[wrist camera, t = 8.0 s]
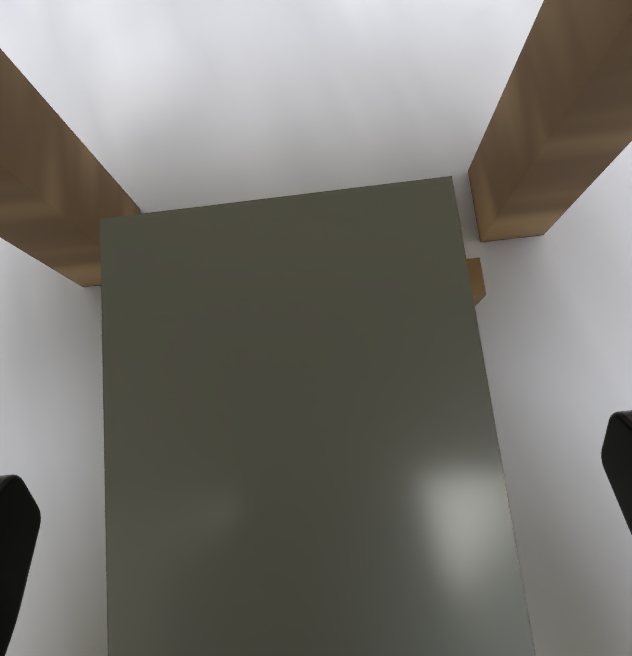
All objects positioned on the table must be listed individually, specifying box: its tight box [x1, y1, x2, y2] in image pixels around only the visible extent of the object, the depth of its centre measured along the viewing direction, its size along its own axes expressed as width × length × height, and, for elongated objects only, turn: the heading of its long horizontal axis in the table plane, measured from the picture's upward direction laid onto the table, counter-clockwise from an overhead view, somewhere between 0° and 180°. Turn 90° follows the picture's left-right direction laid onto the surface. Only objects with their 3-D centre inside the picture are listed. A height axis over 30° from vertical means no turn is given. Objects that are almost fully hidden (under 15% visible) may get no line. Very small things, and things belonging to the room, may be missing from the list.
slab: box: [100, 176, 535, 656], centre depth 11 cm, size 7×4×11 cm, turn 6°
